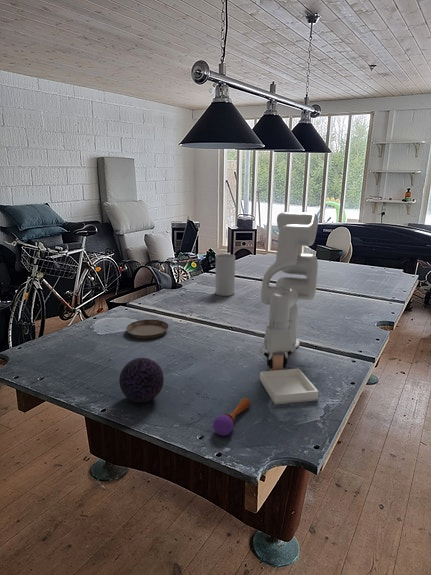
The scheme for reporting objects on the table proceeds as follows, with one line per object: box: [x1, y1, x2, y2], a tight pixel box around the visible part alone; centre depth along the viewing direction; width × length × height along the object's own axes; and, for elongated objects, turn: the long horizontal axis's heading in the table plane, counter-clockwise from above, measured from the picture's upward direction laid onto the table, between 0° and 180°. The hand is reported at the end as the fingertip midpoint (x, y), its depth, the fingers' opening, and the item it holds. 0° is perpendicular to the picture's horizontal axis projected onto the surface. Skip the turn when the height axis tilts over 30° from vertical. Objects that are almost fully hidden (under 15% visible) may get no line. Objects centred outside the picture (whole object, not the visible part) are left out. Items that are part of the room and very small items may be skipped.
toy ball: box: [118, 357, 165, 403], centre depth 142 cm, size 15×15×15 cm
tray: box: [259, 367, 319, 406], centre depth 150 cm, size 18×16×4 cm
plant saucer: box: [125, 318, 170, 340], centre depth 204 cm, size 21×21×3 cm
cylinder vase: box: [214, 253, 236, 297], centre depth 267 cm, size 12×12×25 cm
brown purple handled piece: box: [212, 397, 251, 437], centre depth 131 cm, size 6×6×20 cm
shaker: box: [269, 352, 284, 371], centre depth 164 cm, size 5×5×9 cm
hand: (276, 366), depth 164 cm, fingers closed on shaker, 5 cm apart
